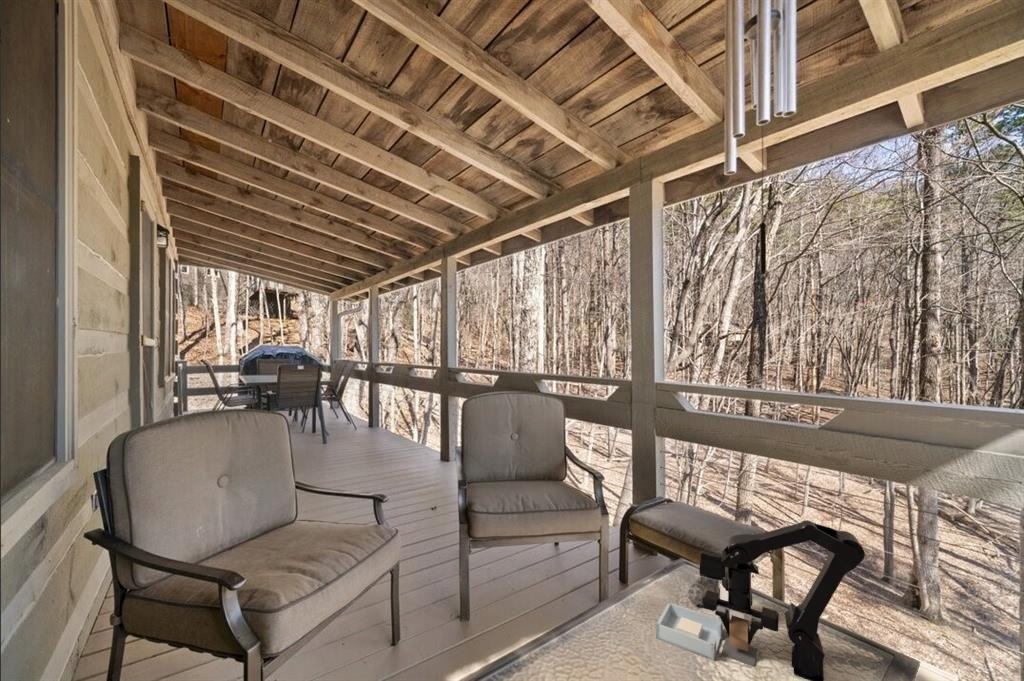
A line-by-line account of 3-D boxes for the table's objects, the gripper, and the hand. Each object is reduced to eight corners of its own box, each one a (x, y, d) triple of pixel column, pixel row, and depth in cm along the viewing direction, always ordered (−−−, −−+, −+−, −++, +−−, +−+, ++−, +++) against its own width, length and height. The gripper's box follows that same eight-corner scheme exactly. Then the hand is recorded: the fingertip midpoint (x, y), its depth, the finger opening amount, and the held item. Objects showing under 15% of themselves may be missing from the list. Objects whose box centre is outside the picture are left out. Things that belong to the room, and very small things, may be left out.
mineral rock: (690, 609, 140) (690, 578, 140) (678, 590, 151) (678, 561, 151) (730, 609, 140) (730, 578, 140) (714, 590, 151) (714, 562, 151)
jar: (741, 629, 130) (741, 589, 130) (715, 615, 137) (715, 577, 137) (756, 619, 135) (756, 581, 135) (731, 606, 142) (731, 569, 142)
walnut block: (749, 642, 121) (749, 620, 121) (747, 651, 117) (747, 629, 117) (731, 636, 123) (731, 615, 124) (729, 644, 120) (729, 623, 120)
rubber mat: (757, 649, 121) (757, 648, 121) (754, 666, 115) (754, 665, 115) (725, 638, 126) (725, 637, 126) (721, 654, 119) (721, 653, 119)
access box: (722, 633, 128) (722, 620, 128) (714, 660, 117) (714, 646, 117) (668, 614, 137) (668, 602, 137) (656, 638, 126) (656, 624, 126)
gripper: (780, 581, 122) (780, 637, 122) (709, 562, 133) (709, 613, 132) (777, 600, 113) (778, 660, 112) (701, 578, 123) (701, 633, 123)
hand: (739, 640), depth 120 cm, fingers closed on walnut block, 4 cm apart
